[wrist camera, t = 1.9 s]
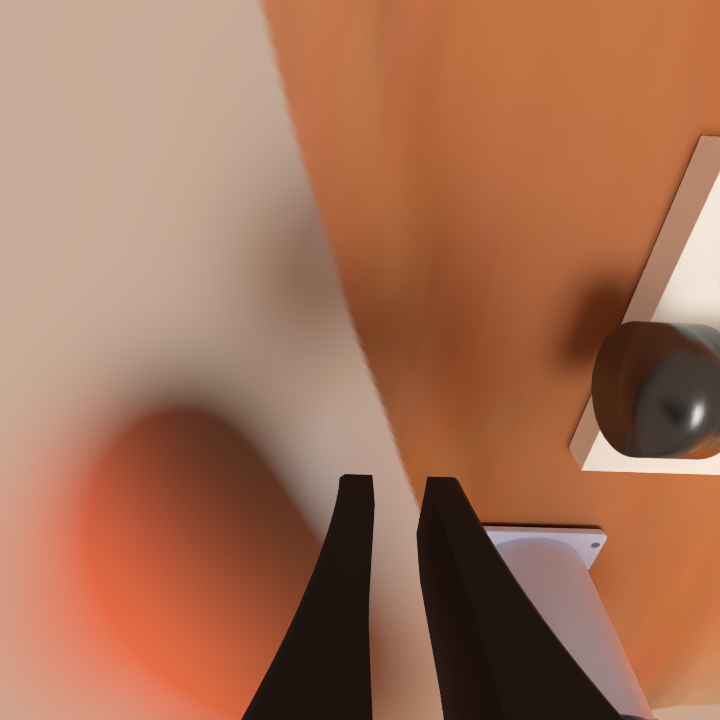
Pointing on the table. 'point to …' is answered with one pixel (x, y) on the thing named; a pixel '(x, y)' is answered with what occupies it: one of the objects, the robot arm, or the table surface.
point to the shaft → (659, 390)
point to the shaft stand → (672, 300)
